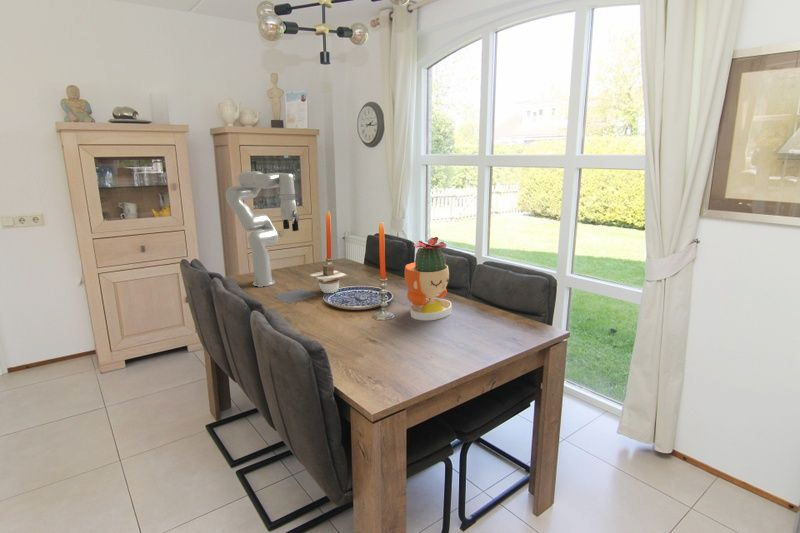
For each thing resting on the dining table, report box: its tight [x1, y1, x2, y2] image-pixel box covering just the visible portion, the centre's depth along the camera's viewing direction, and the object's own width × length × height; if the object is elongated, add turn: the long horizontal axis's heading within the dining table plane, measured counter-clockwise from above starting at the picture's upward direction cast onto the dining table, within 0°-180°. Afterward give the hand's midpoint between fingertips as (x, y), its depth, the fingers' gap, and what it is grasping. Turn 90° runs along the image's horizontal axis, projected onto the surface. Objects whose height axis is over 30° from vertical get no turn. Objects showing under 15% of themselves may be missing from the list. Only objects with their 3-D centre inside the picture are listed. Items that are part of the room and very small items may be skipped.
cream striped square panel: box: [272, 288, 319, 305], centre depth 243 cm, size 18×18×1 cm
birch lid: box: [308, 263, 349, 282], centre depth 243 cm, size 15×15×6 cm
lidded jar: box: [318, 279, 340, 294], centre depth 245 cm, size 11×11×9 cm
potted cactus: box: [403, 236, 452, 321], centre depth 209 cm, size 22×22×35 cm
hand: (291, 229), depth 243 cm, fingers open, 9 cm apart
